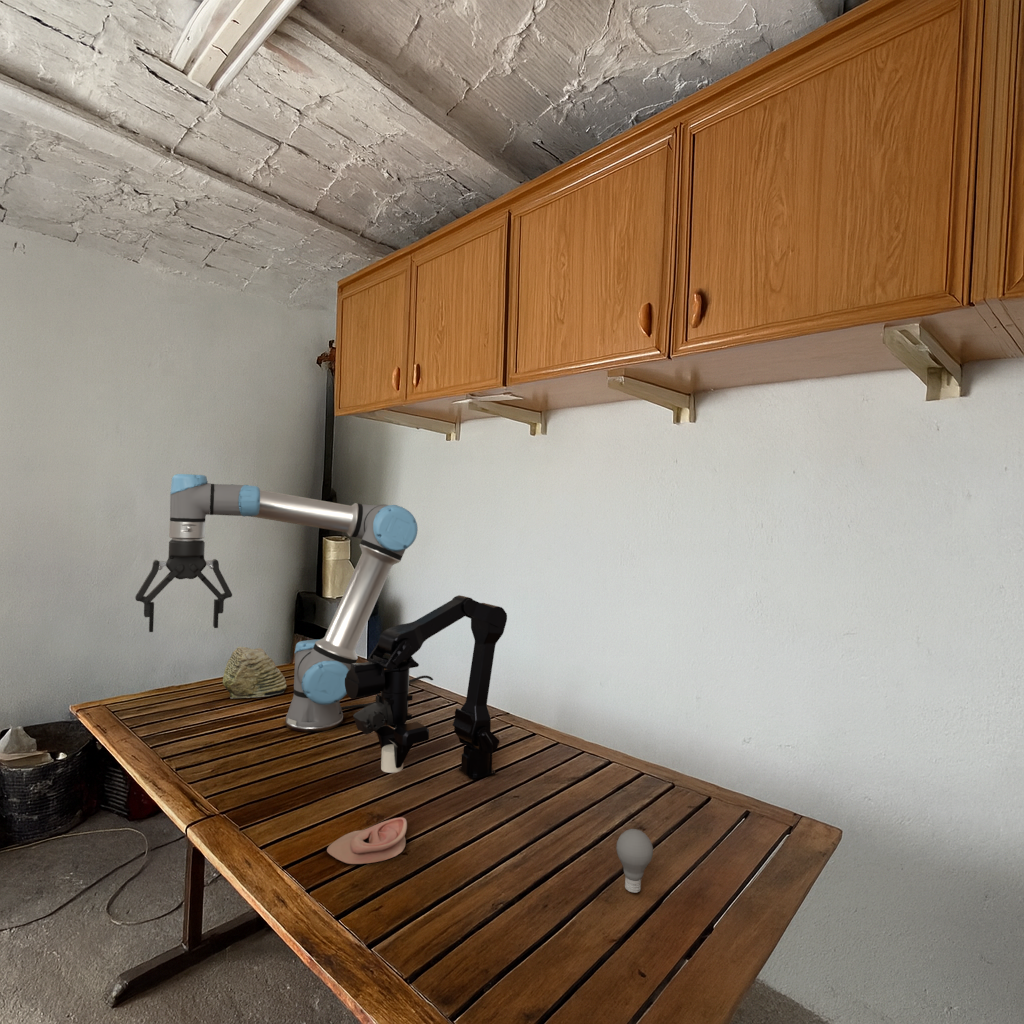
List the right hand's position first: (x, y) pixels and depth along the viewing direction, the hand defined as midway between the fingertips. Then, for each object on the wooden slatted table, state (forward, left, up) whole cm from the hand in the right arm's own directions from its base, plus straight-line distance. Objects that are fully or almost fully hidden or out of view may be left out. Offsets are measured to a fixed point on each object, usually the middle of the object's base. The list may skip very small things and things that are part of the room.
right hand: (392, 763), depth 133 cm
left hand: (+34, -44, +23) cm, 60 cm away
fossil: (+8, -84, -8) cm, 85 cm away
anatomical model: (+11, +15, -8) cm, 20 cm away
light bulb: (-21, +49, -8) cm, 54 cm away
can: (0, 0, -1) cm, 1 cm away
